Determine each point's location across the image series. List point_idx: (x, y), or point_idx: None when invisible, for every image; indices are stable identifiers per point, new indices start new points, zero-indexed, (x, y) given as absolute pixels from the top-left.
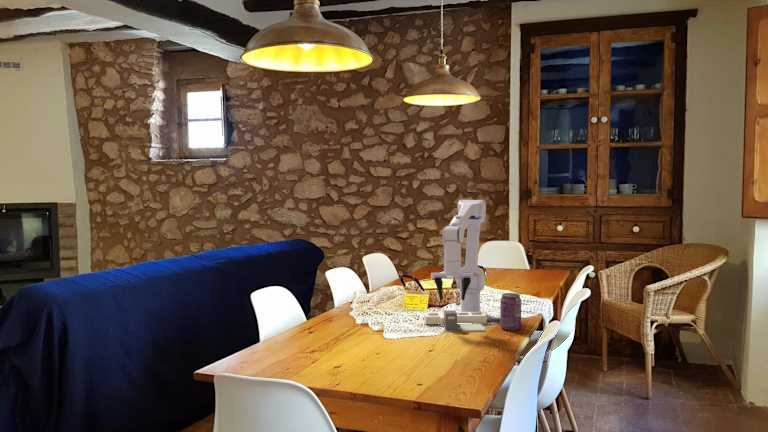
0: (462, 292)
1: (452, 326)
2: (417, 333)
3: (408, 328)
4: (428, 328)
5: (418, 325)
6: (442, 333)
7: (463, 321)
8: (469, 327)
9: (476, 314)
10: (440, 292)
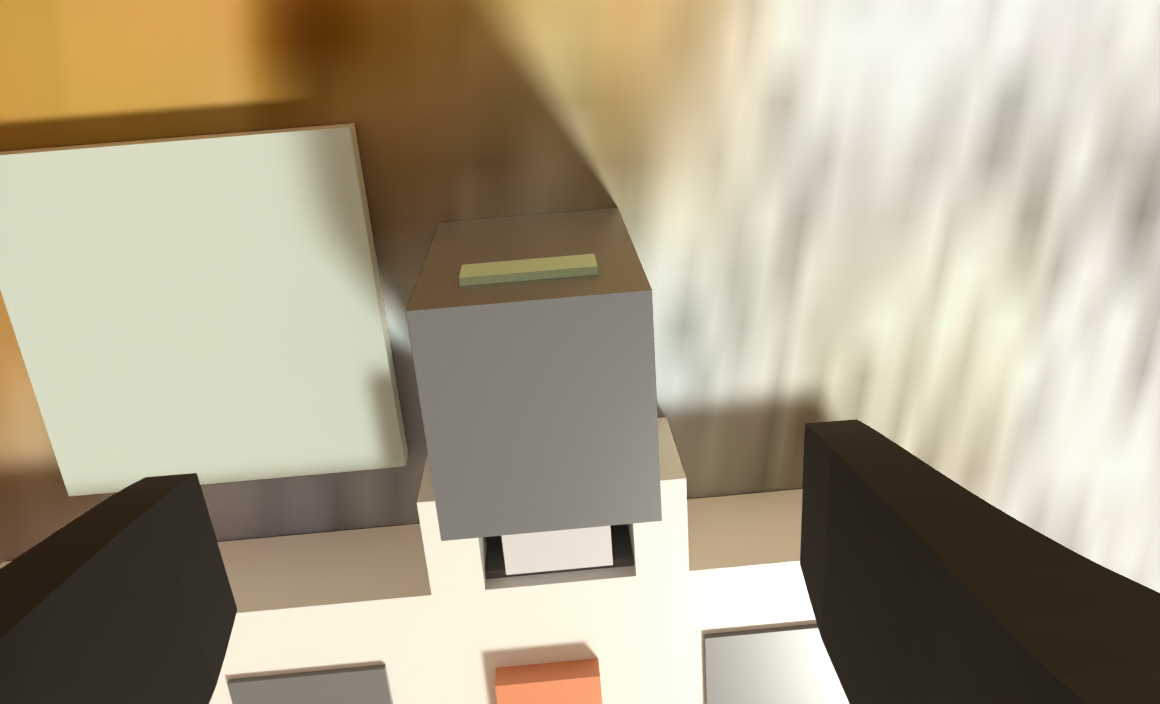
0: (104, 685)
1: (509, 233)
2: (1081, 22)
3: (1145, 306)
4: (859, 311)
5: (971, 459)
6: (685, 23)
7: (328, 554)
8: (235, 283)
9: None
10: (973, 518)
